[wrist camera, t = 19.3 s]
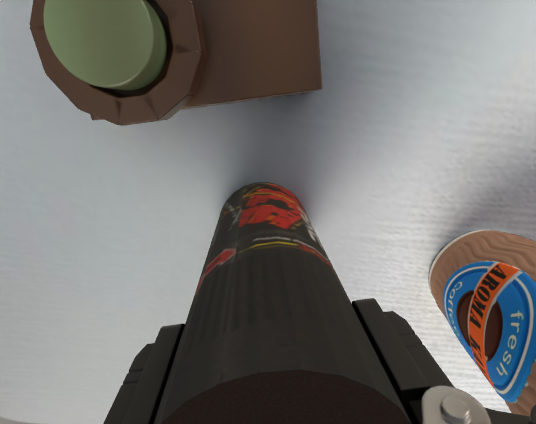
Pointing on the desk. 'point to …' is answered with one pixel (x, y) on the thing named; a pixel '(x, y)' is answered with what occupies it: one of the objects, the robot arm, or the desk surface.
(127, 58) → the green short cylinder
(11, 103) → the desk surface
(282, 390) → the deodorant
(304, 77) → the button housing
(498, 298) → the coffee cup
